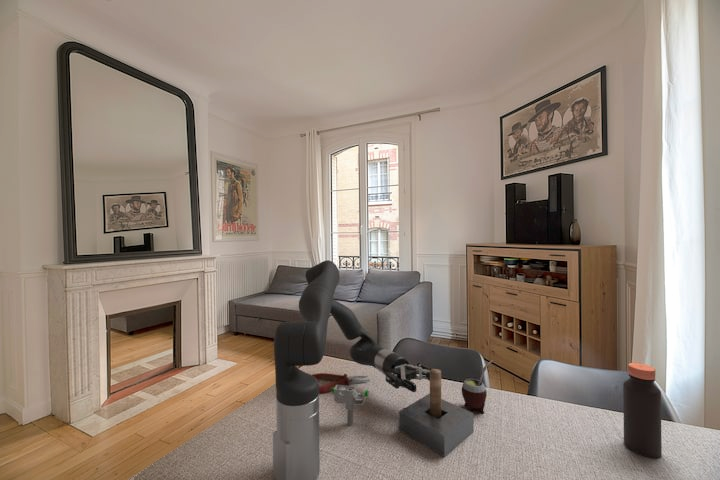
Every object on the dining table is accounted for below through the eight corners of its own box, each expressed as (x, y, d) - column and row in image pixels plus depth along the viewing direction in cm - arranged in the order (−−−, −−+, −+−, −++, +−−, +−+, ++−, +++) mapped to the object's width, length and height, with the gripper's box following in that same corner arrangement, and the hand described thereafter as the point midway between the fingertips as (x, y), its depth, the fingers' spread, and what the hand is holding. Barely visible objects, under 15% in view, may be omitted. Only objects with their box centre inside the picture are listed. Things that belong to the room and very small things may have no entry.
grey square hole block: (444, 457, 71) (444, 436, 71) (399, 429, 81) (398, 411, 82) (473, 431, 81) (473, 413, 81) (429, 410, 91) (429, 393, 91)
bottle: (641, 459, 70) (640, 373, 70) (616, 439, 77) (615, 361, 77) (670, 458, 70) (669, 372, 70) (642, 439, 77) (641, 361, 77)
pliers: (373, 389, 105) (373, 381, 105) (311, 396, 100) (311, 388, 100) (365, 374, 117) (365, 367, 117) (309, 380, 112) (309, 373, 112)
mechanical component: (367, 429, 82) (367, 392, 82) (331, 425, 84) (330, 389, 84) (369, 423, 85) (368, 387, 85) (334, 418, 87) (333, 384, 87)
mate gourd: (457, 407, 92) (456, 358, 92) (472, 399, 97) (471, 352, 97) (479, 419, 86) (479, 366, 86) (494, 409, 91) (493, 360, 91)
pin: (437, 435, 79) (436, 374, 79) (427, 430, 81) (427, 371, 81) (443, 431, 81) (443, 371, 81) (434, 426, 83) (433, 367, 83)
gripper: (372, 357, 94) (407, 377, 80) (407, 348, 101) (444, 365, 88) (372, 381, 94) (407, 405, 80) (407, 370, 101) (444, 391, 88)
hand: (426, 384), depth 84 cm, fingers open, 8 cm apart
